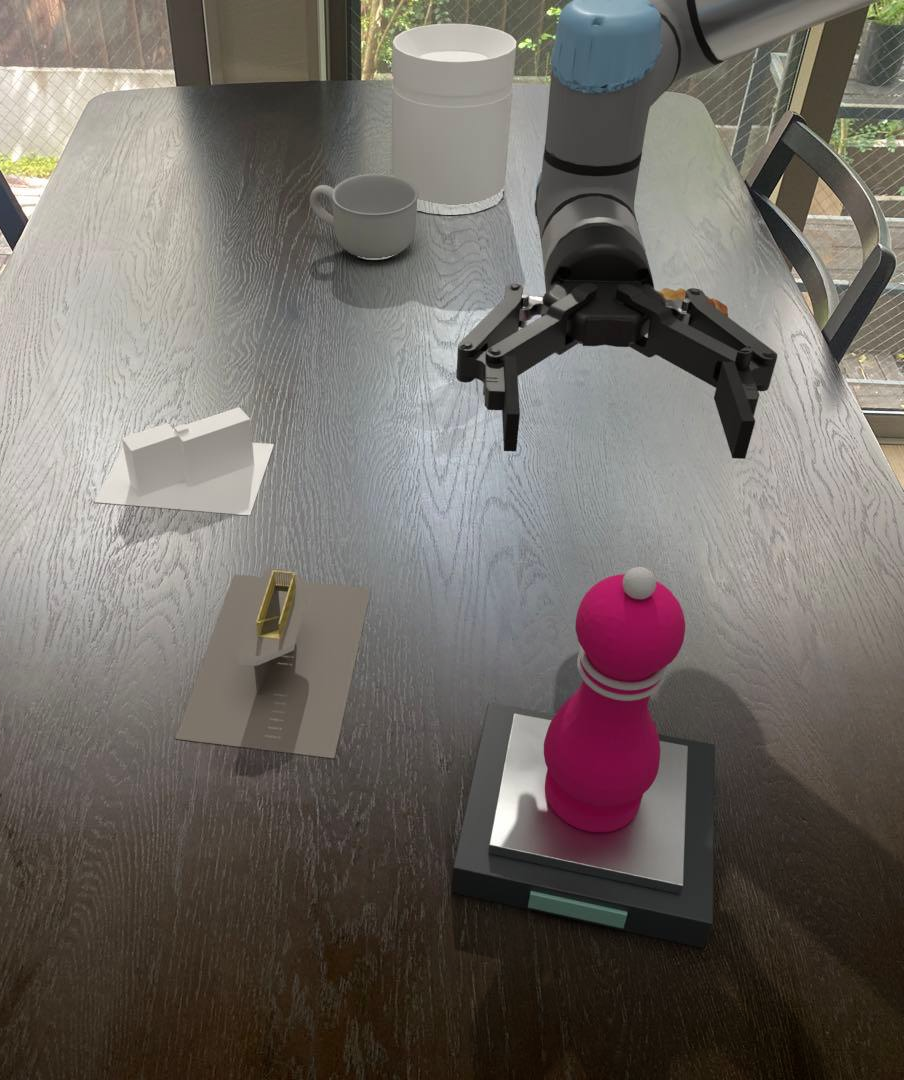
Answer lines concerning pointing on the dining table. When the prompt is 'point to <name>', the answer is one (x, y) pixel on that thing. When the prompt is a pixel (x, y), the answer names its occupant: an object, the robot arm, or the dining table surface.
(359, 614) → the platform
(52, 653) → the dining table surface
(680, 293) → the pastry
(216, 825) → the dining table surface
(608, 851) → the pan
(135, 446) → the white flat upright-walled piece
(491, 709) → the scale
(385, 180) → the teacup
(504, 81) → the canister
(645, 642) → the pepper mill
